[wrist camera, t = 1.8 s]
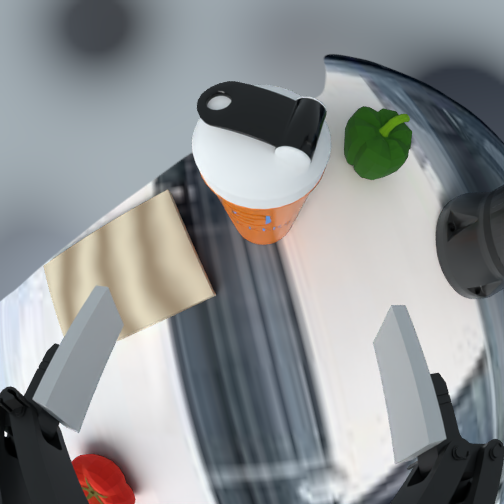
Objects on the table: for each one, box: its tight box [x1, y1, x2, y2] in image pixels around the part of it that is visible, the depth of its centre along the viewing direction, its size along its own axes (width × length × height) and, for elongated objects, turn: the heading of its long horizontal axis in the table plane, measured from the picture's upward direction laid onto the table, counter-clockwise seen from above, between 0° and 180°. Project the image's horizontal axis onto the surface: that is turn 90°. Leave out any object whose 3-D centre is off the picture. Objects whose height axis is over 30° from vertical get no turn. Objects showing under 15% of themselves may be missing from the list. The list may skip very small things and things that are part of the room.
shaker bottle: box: [192, 81, 331, 245], centre depth 24 cm, size 9×9×20 cm
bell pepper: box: [344, 106, 412, 180], centre depth 29 cm, size 8×8×10 cm
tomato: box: [72, 454, 135, 504], centre depth 25 cm, size 10×11×6 cm
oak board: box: [44, 190, 216, 341], centre depth 32 cm, size 22×14×2 cm, turn 116°
